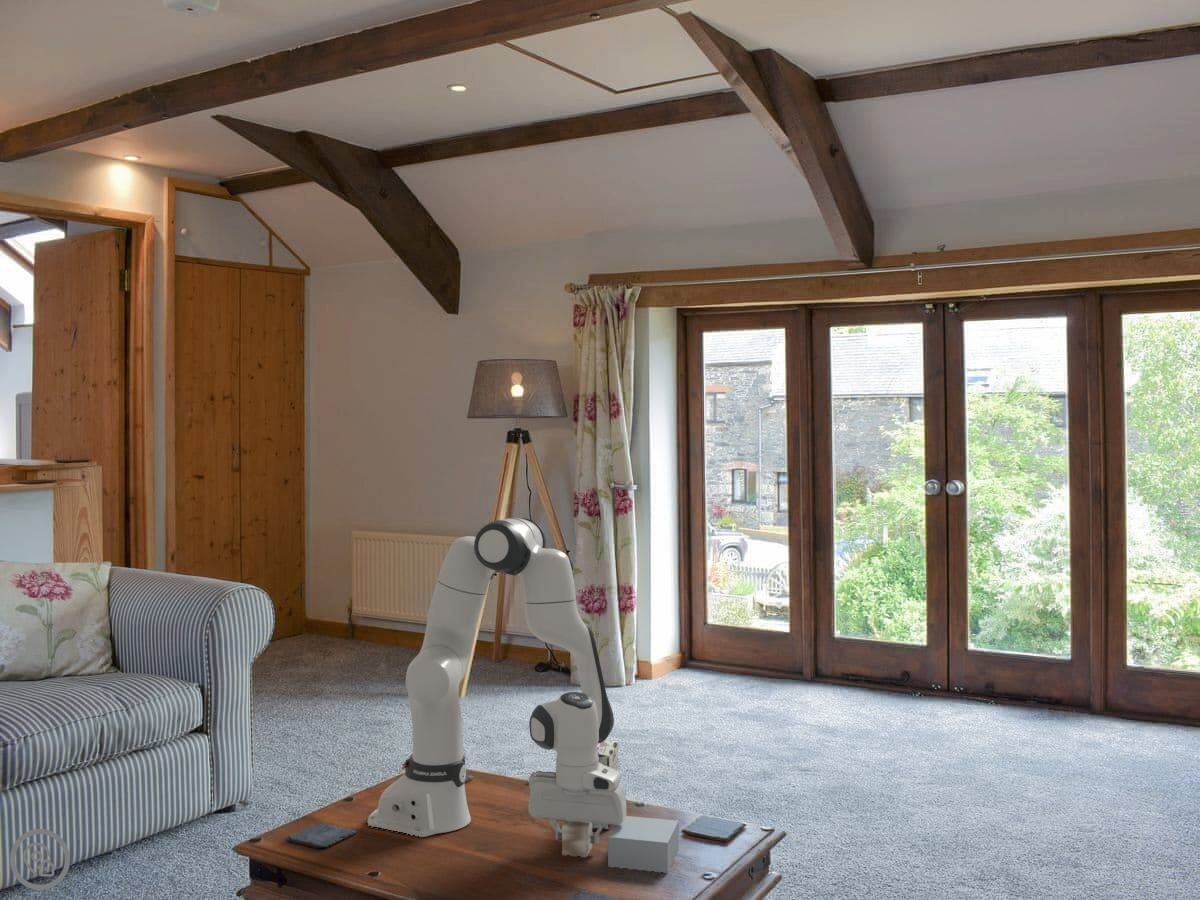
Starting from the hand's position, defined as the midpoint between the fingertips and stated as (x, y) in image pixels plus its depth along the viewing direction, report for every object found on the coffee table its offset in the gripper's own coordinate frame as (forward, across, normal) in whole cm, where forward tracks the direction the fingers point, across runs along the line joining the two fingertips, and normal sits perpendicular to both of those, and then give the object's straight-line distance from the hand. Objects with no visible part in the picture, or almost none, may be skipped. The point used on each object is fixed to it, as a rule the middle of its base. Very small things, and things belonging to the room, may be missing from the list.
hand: (577, 841), depth 223 cm
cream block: (+2, 0, 0) cm, 2 cm away
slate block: (+2, +14, 0) cm, 14 cm away
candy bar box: (+2, +1, +18) cm, 18 cm away
